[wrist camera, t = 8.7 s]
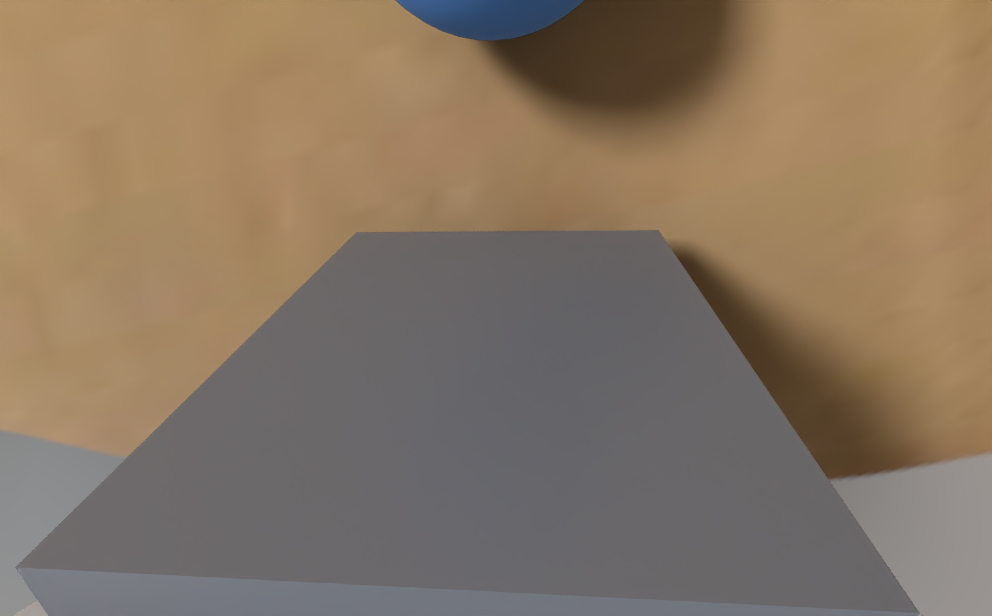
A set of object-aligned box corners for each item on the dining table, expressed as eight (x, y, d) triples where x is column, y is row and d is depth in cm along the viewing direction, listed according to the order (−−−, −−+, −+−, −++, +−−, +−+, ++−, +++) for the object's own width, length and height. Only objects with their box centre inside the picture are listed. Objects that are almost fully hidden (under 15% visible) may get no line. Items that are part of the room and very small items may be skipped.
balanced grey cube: (658, 230, 11) (919, 612, 4) (631, 465, 15) (739, 943, 7) (356, 232, 12) (14, 567, 4) (392, 457, 15) (235, 892, 7)
